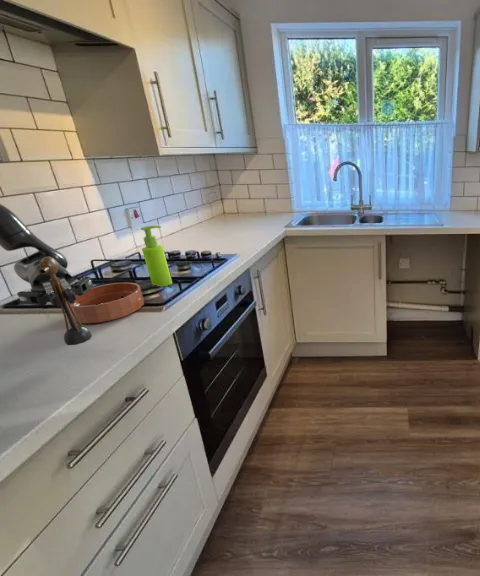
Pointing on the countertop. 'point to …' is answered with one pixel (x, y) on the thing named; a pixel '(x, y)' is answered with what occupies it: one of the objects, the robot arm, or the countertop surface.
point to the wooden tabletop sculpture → (64, 305)
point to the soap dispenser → (155, 259)
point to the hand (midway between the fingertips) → (64, 300)
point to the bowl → (107, 302)
